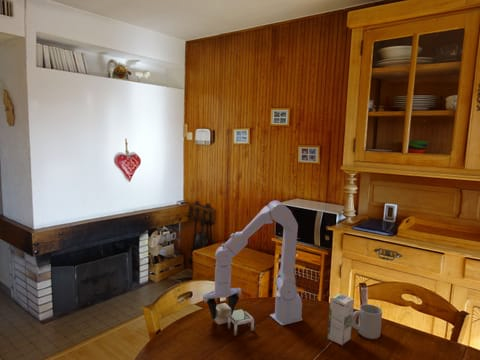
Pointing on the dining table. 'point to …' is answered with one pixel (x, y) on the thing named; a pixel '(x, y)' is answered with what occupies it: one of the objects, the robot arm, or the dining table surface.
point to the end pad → (238, 315)
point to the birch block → (222, 313)
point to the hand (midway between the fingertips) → (221, 316)
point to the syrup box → (340, 319)
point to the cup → (368, 321)
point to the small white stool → (241, 322)
